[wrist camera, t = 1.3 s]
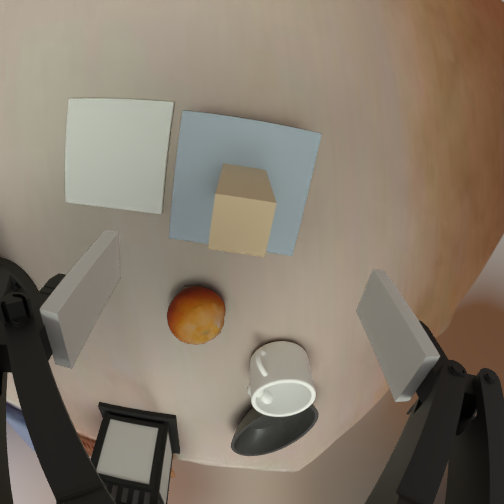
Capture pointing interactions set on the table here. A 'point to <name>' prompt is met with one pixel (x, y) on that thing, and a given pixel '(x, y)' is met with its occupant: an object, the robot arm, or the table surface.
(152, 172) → the mat
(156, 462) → the lantern
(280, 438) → the bowl
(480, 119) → the table surface
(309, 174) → the lid
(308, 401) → the mug
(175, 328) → the fruit
